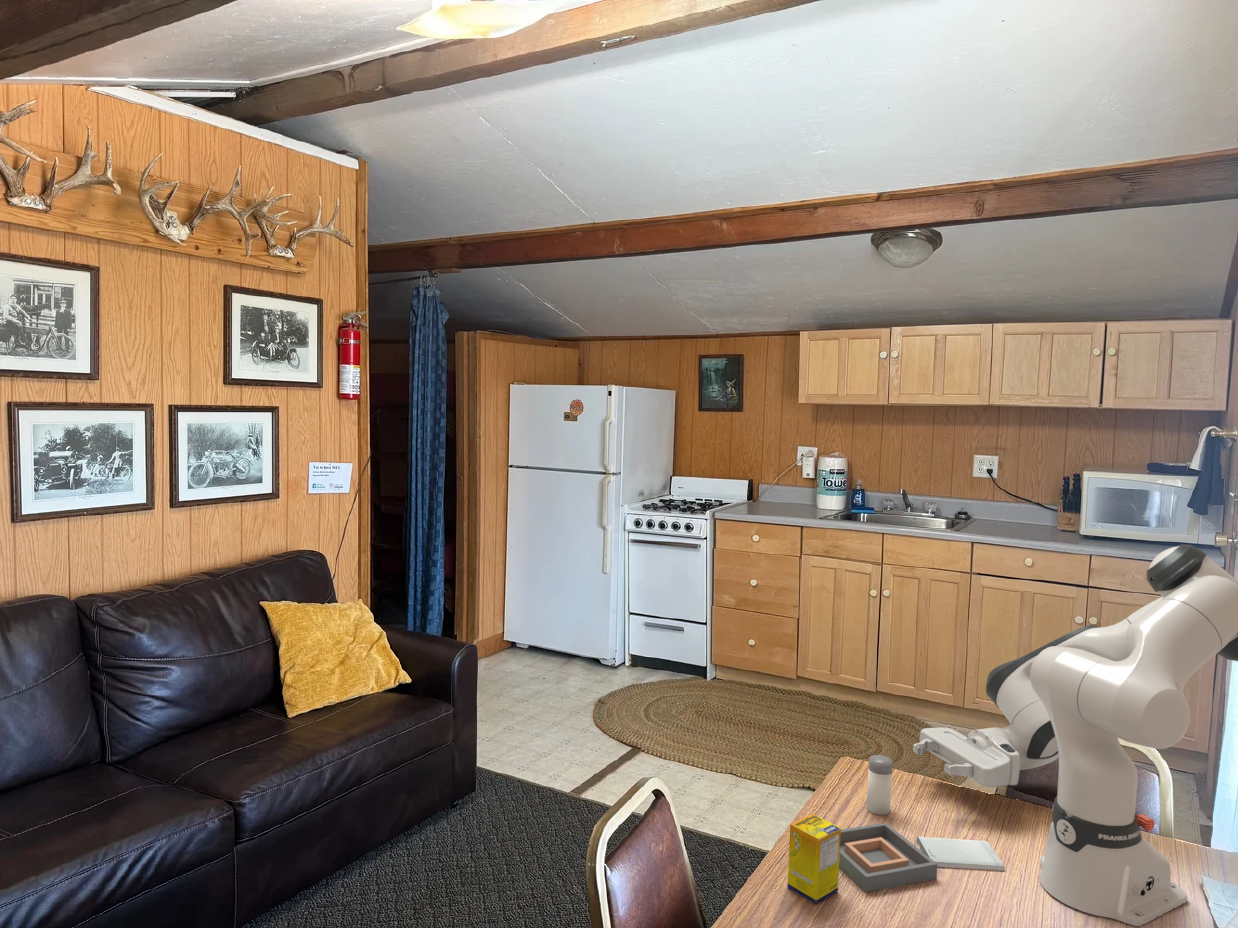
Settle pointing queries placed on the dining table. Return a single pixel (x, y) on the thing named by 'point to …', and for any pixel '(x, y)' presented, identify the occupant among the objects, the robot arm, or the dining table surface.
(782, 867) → the dining table surface
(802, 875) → the supplement box
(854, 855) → the walled box
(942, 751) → the robot arm
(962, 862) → the hard drive
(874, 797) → the white bottle
